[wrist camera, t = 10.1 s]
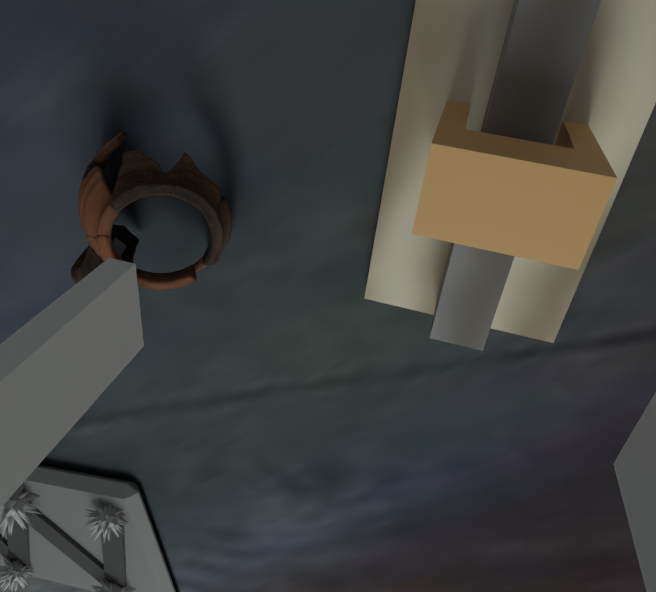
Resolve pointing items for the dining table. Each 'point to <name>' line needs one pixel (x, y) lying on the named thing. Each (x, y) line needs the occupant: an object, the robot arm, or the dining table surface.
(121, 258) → the pottery mug
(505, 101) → the rail block
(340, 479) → the dining table surface
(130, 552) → the decorative plate
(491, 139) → the clip
